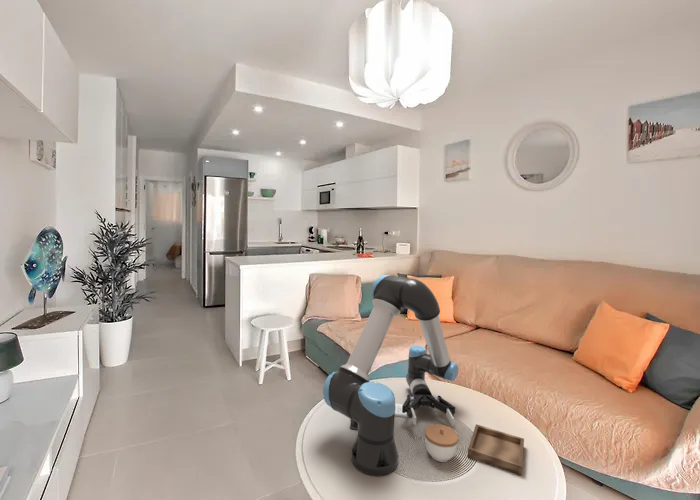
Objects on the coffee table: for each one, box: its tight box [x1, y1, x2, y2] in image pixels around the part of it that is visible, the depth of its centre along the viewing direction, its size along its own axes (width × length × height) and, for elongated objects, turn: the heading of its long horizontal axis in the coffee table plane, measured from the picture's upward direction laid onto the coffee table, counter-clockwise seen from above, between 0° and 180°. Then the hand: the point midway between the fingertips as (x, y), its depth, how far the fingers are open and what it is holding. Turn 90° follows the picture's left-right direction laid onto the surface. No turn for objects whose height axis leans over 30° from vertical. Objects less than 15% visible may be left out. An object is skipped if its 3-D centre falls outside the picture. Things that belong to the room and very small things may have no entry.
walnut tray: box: [467, 423, 525, 477], centre depth 116 cm, size 16×16×3 cm
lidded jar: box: [424, 423, 459, 463], centre depth 113 cm, size 11×11×9 cm
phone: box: [349, 419, 358, 431], centre depth 133 cm, size 8×1×15 cm
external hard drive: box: [395, 403, 409, 418], centre depth 139 cm, size 2×8×12 cm
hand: (434, 421), depth 122 cm, fingers open, 13 cm apart
